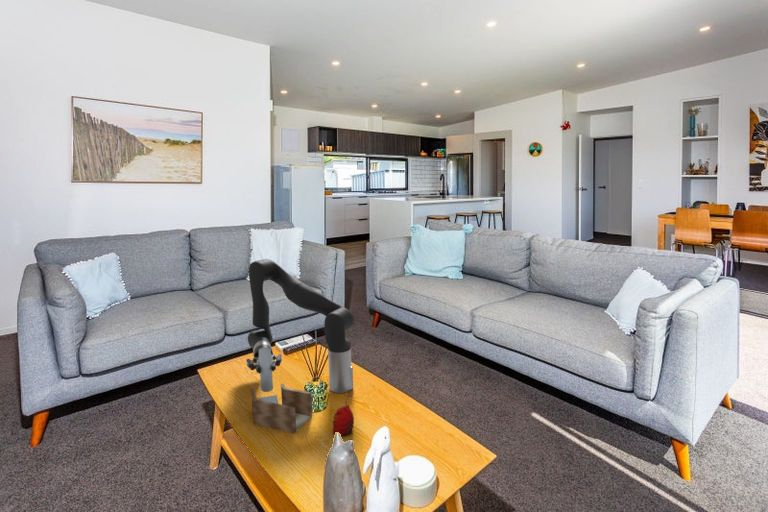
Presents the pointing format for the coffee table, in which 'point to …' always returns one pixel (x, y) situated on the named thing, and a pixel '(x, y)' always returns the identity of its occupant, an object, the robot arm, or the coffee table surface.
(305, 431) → the coffee table surface
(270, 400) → the pad
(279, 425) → the channel
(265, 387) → the baton
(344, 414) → the red clay folk toy
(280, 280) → the robot arm
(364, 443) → the coffee table surface
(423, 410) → the coffee table surface
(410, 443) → the coffee table surface
